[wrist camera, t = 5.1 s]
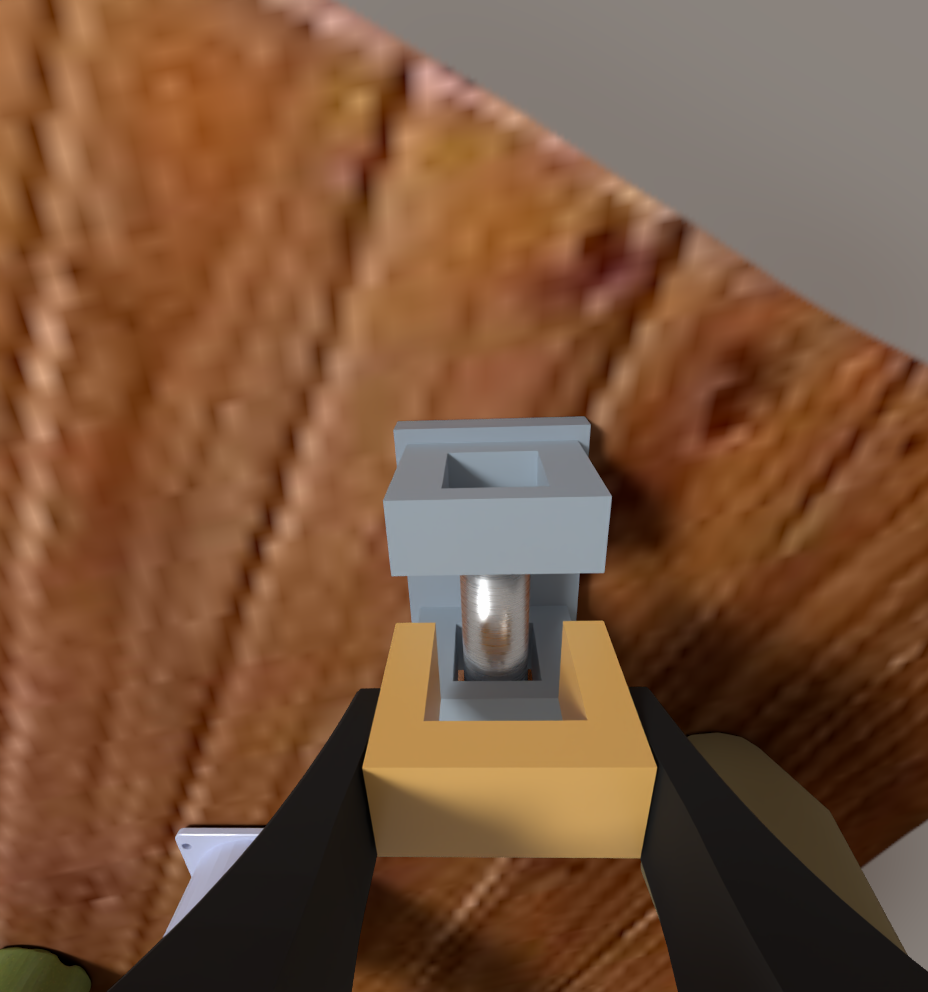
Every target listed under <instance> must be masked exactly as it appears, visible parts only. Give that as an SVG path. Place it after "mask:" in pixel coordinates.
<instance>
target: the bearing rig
mask: <svg viewBox="0 0 928 992" xmlns="http://www.w3.org/2000/svg"><path fill="white" fill-rule="evenodd" d="M590 428H591V424H590V423H589V422H588V420H587V419H586V418H585V416H584V417H546V418H508V419H470V420H432V421H398V422H397V424H396V426H395V428H394V440H395V451H396V461H397V469H396V471H395V474H394V476H393V478H392V481H391V483H390V486H389V488H388V490H387V493H386V495H385V498H384V500H383V504H384V513H385V522H386V531H387V540H388V549H389V558H390V567H391V576H407V577H408V587H409V597H410V608H411V618H412V623H436V637H437V651H438V665H439V679H440V693H441V704H440V715H439V721H563V720H562V715H561V709H560V704H559V699H558V696H559V680H560V663H561V647H562V631H563V621H576V617H577V603H578V590H579V576H580V573H604V571H605V561H606V551H607V540H608V530H609V520H610V510H611V500H612V496H611V494H610V492H609V491H608V489H607V487H606V486H605V484H604V483H603V481H602V479H601V478H600V476H599V474H598V473H597V471H596V469H595V468H594V466H593V465H592V463H591V461H590V460H589V458H588V455H589V442H590ZM500 574H530V602H529V641H528V669H531V670H532V678H533V681H458V670H464V658H463V635H462V612H461V589H460V575H500Z"/></svg>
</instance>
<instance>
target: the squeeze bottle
mask: <svg viewBox="0 0 928 992" xmlns="http://www.w3.org/2000/svg"><path fill="white" fill-rule="evenodd" d="M687 738H688V739H689V741H690V742H691V743H692V744H693V745H694V747H695V748H696V749H697V750H698V751H699V753H700V754H701V755H702V756H703V757H704V759H705V760H706V761H707V762H708V763H709V764H710V766H711V767H712V768H713V769H714V770H715V771H716V773H717V774H718V775H719V776H720V777H721V778H722V780H723V781H724V782H725V783H726V784H727V785H728V786H729V787H730V789H731V790H732V791H733V792H734V793H735V794H736V795H737V796H738V797H739V798H740V800H741V801H742V802H743V803H744V804H745V805H746V806H747V807H748V808H749V809H750V810H751V811H752V812H753V813H754V815H755V816H756V817H757V818H758V819H759V820H760V821H761V822H762V823H763V824H764V825H765V826H766V827H767V828H768V829H769V830H770V831H771V832H772V833H773V834H774V835H775V836H776V837H777V838H778V839H779V840H780V841H781V842H782V843H783V844H784V845H785V846H786V847H787V848H788V849H789V850H790V851H791V852H792V853H793V854H794V855H795V856H796V857H797V858H798V859H799V860H800V861H801V862H802V863H803V864H804V865H805V866H806V867H807V868H808V869H810V870H811V871H812V872H813V873H814V874H815V875H816V876H817V877H818V878H819V879H820V880H821V881H823V882H824V883H825V884H826V885H827V886H828V887H829V888H830V889H831V890H832V891H833V892H834V893H836V894H837V895H838V896H839V897H840V898H841V899H842V900H843V901H844V902H845V903H847V904H848V905H849V906H850V907H851V908H852V909H854V910H855V911H856V912H857V913H858V914H860V915H861V916H862V917H863V918H864V919H865V920H867V921H868V922H869V923H870V924H871V925H872V926H874V927H875V928H876V929H877V930H878V931H880V932H881V933H882V934H883V935H884V936H885V937H887V938H888V939H889V940H890V941H891V942H892V943H894V944H895V945H896V946H897V947H898V948H899V949H901V950H902V951H903V952H904V953H905V954H907V953H906V951H905V949H904V947H903V946H902V944H901V942H900V940H899V938H898V936H897V934H896V933H895V931H894V929H893V927H892V925H891V923H890V922H889V920H888V918H887V916H886V914H885V912H884V910H883V909H882V907H881V905H880V903H879V901H878V899H877V898H876V896H875V894H874V892H873V890H872V888H871V886H870V885H869V883H868V881H867V879H866V877H865V875H864V874H863V872H862V870H861V868H860V866H859V864H858V862H857V861H856V859H855V857H854V855H853V853H852V851H851V849H850V848H849V846H848V844H847V842H846V840H845V838H844V837H843V835H842V833H841V831H840V829H839V827H838V825H837V824H836V822H835V820H834V818H833V816H832V814H831V813H830V811H829V810H828V809H827V808H826V807H825V806H823V805H822V804H821V803H820V802H819V801H818V800H817V799H816V798H814V797H813V796H812V795H811V794H810V793H809V792H808V791H807V790H806V789H804V788H803V787H802V786H801V785H800V784H799V783H798V782H797V781H795V780H794V779H793V778H792V777H791V776H790V775H789V774H788V773H787V772H785V771H784V770H783V769H782V768H781V767H780V766H779V765H778V764H776V763H775V762H774V761H773V760H772V759H771V758H770V757H769V756H768V755H766V754H765V753H764V752H763V751H762V750H761V749H760V748H759V747H757V746H755V745H754V744H752V743H750V742H749V741H747V740H746V739H744V738H742V737H739V736H734V735H729V734H723V733H707V734H697V735H691V736H688V737H687ZM641 871H642V874H643V877H644V879H645V882H646V885H647V887H648V890H649V893H650V895H651V898H652V901H653V903H654V900H653V897H652V894H651V891H650V888H649V884H648V881H647V878H646V875H645V872H644V869H643V866H642V863H641ZM654 906H655V903H654ZM655 909H656V906H655ZM656 912H657V909H656ZM657 914H658V912H657ZM658 917H659V916H658ZM659 920H660V919H659Z"/></svg>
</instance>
